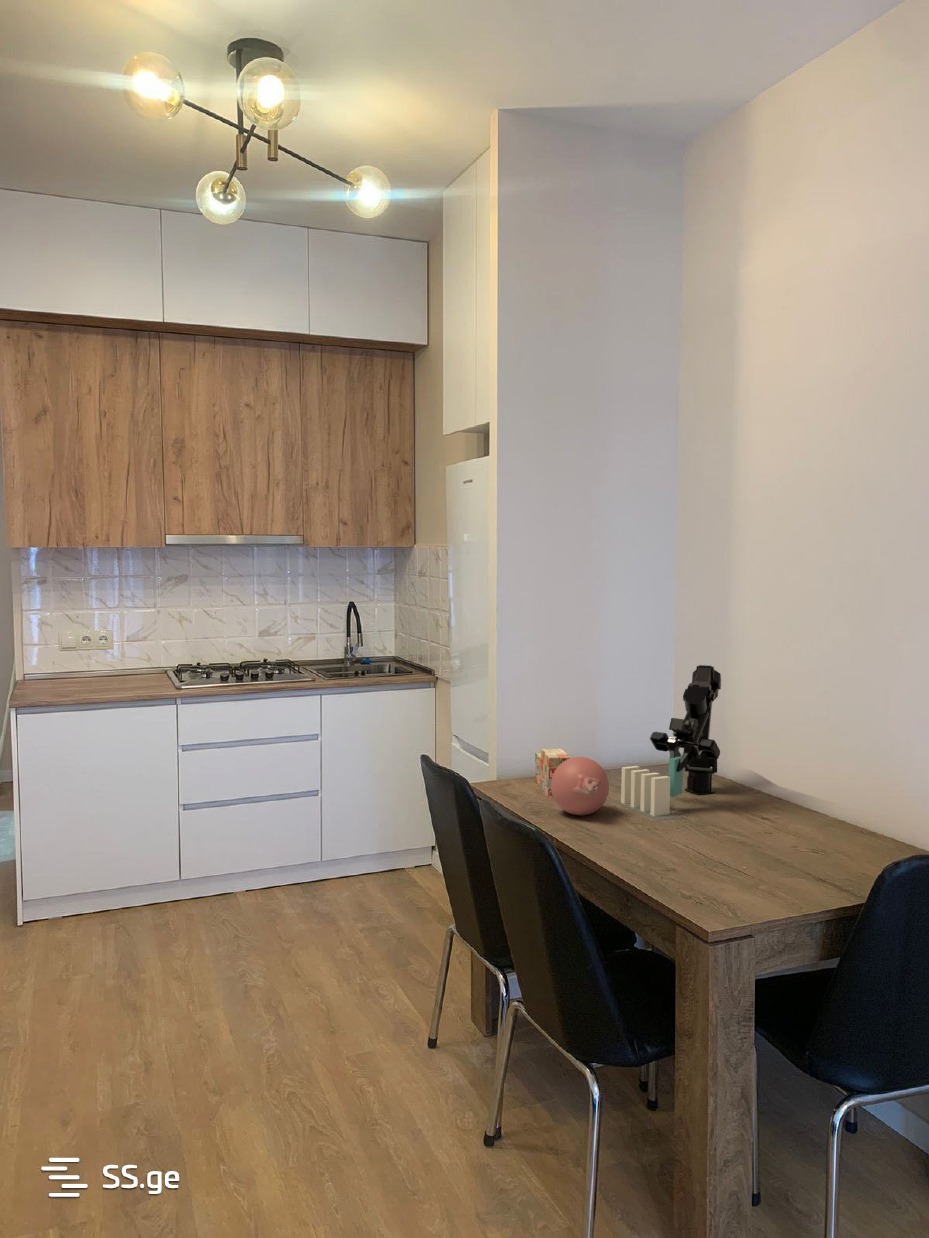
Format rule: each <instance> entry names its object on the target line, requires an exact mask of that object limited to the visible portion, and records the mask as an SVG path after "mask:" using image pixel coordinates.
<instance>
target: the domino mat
mask: <svg viewBox="0 0 929 1238" xmlns="http://www.w3.org/2000/svg"><path fill="white" fill-rule="evenodd" d="M608 801H610V802H612V801H621V800H608ZM616 804H617V805H619V804H623V803H616ZM629 804H631V803H629ZM621 806H622V807H624V808H626V809H629V810H630V811H631V810H632V811H633V812H637V813H638V814H641V815H643V816H647V817H649V818H652V819H653V820H656V821H665V820H671V819H672V820H673V819H678V818H680V819H681V818H682V816H681V815H678V814H676V813H674V812H671V811H669V814H667V815H659V816H652V815H650V812H651V811H648V812H643V811H640V807H638V808H633V807H631V805H624V806H623V805H621Z"/></svg>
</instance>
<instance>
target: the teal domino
mask: <svg viewBox="0 0 929 1238" xmlns="http://www.w3.org/2000/svg"><path fill="white" fill-rule="evenodd" d="M680 759H681V757H679V756H678V757H675V758H672V759H670V758H669V759H668V777H670V798H671V797H672V798H675V797H677V796H679V795H682V794H683V782H684V780H683V779H684V778H683V776H684V774H683V773H684V768H683V769H682V770H681V771H680V772H677V770H676V769H677V766H678V763H679V761H680Z"/></svg>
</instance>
